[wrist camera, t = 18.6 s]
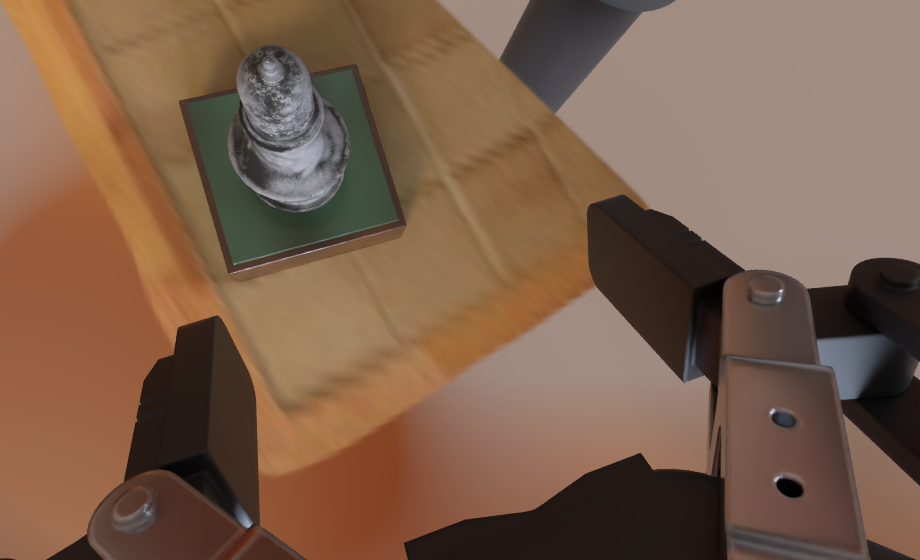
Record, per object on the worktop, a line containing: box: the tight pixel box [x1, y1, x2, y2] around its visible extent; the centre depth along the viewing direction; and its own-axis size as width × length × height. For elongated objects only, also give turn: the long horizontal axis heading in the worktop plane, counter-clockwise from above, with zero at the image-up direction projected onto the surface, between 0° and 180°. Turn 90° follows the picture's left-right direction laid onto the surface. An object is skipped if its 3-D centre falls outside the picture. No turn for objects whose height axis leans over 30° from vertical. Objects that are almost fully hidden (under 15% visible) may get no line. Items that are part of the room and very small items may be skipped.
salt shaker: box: [227, 46, 350, 213], centre depth 27 cm, size 6×6×12 cm
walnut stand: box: [179, 64, 406, 282], centre depth 35 cm, size 10×10×4 cm
